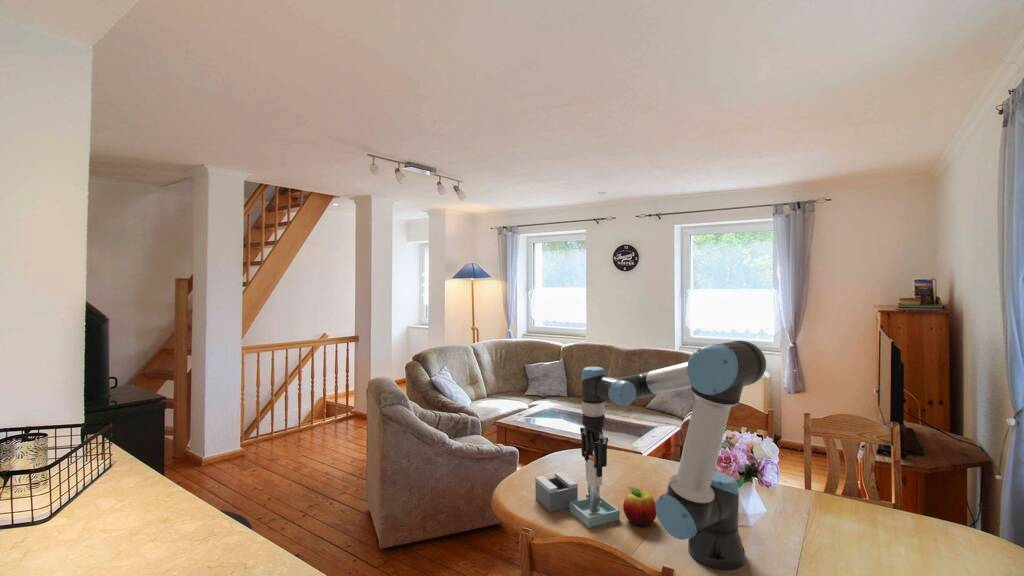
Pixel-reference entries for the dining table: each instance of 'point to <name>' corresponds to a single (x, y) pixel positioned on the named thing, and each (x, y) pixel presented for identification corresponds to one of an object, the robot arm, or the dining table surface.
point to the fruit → (639, 507)
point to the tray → (594, 518)
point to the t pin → (592, 488)
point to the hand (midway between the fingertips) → (593, 482)
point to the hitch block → (556, 491)
